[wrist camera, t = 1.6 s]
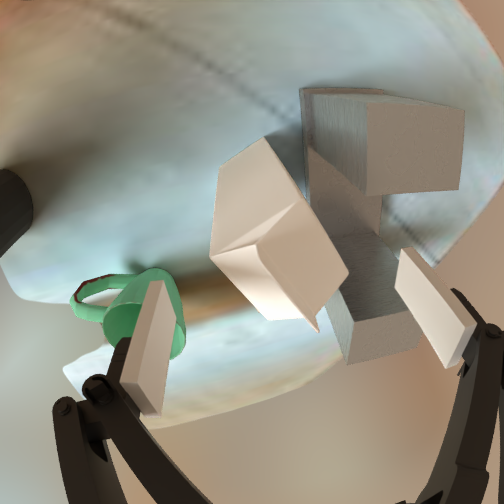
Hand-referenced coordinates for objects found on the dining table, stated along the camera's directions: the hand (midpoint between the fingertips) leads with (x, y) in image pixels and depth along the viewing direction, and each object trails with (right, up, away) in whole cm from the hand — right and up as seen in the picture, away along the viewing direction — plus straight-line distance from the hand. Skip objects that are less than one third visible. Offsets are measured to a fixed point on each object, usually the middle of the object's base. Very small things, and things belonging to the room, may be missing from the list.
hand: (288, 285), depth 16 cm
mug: (-17, -2, +23) cm, 29 cm away
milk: (-1, +11, +17) cm, 20 cm away
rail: (+9, +9, +19) cm, 23 cm away
